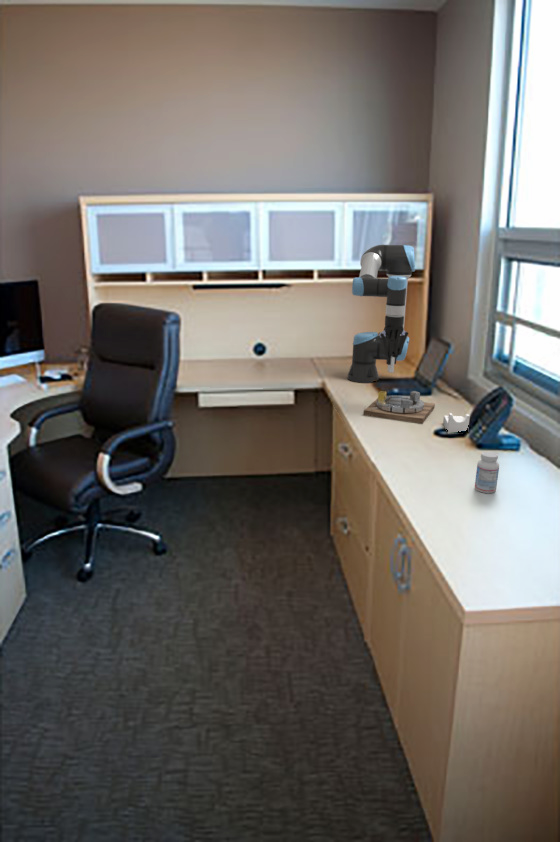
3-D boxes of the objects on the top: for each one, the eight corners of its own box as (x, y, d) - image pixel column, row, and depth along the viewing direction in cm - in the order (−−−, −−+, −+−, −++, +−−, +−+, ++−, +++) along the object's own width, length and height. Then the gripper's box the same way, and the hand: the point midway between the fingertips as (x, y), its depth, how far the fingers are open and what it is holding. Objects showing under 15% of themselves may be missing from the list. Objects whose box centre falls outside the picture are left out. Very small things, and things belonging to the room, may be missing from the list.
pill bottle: (479, 484, 190) (483, 448, 187) (499, 489, 187) (503, 453, 183) (470, 490, 186) (475, 454, 182) (491, 495, 182) (495, 459, 179)
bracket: (467, 435, 235) (469, 416, 232) (448, 434, 235) (450, 415, 233) (461, 424, 247) (463, 406, 245) (443, 424, 248) (444, 405, 245)
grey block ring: (367, 405, 261) (368, 393, 260) (395, 397, 274) (396, 386, 272) (405, 415, 248) (406, 403, 247) (432, 407, 260) (434, 395, 259)
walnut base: (379, 400, 277) (380, 391, 275) (434, 408, 268) (435, 397, 266) (363, 415, 256) (364, 404, 254) (422, 423, 247) (423, 412, 245)
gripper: (404, 313, 261) (399, 368, 269) (376, 314, 257) (372, 370, 265) (413, 316, 254) (408, 373, 262) (384, 317, 250) (380, 375, 258)
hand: (390, 371), depth 263 cm, fingers closed
